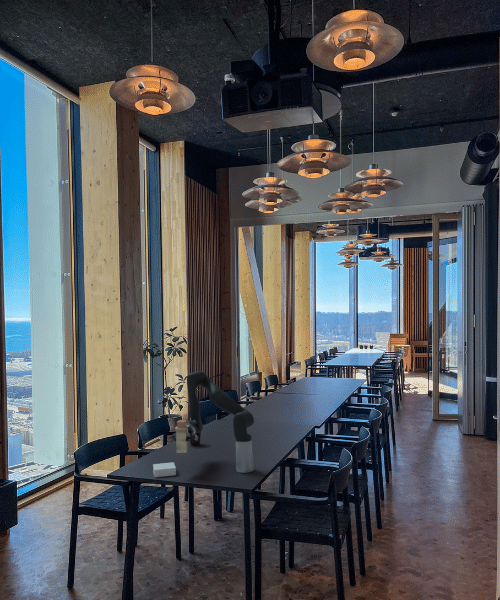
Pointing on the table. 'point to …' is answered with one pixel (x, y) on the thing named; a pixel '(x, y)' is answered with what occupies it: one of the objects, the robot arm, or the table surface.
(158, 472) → the block
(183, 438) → the beige rectangular pillar
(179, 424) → the block
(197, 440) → the coffee mug
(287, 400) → the table surface
